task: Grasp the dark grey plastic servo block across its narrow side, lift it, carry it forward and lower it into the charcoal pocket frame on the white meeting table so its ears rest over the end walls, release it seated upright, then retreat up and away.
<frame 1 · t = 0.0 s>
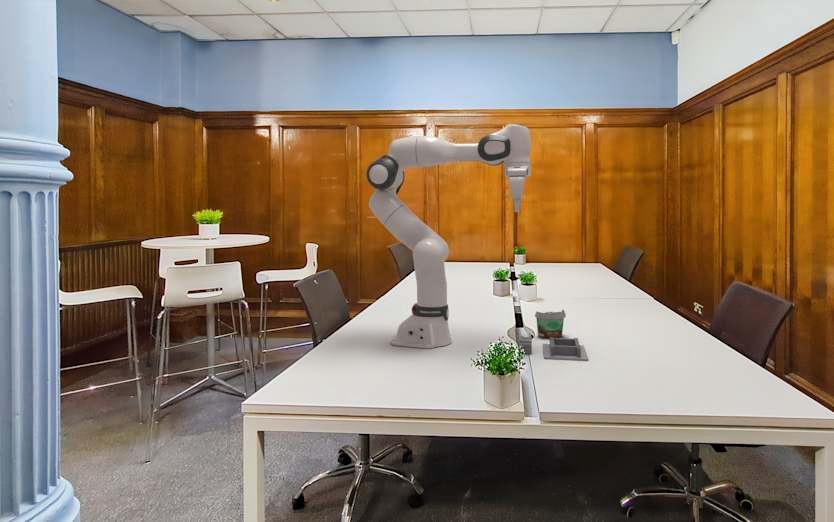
hand: (517, 211, 182), 48 cm above the table, fingers open, 8 cm apart
servo: (525, 351, 181), on the table
pocket: (564, 352, 178), on the table
food container: (553, 338, 198), on the table
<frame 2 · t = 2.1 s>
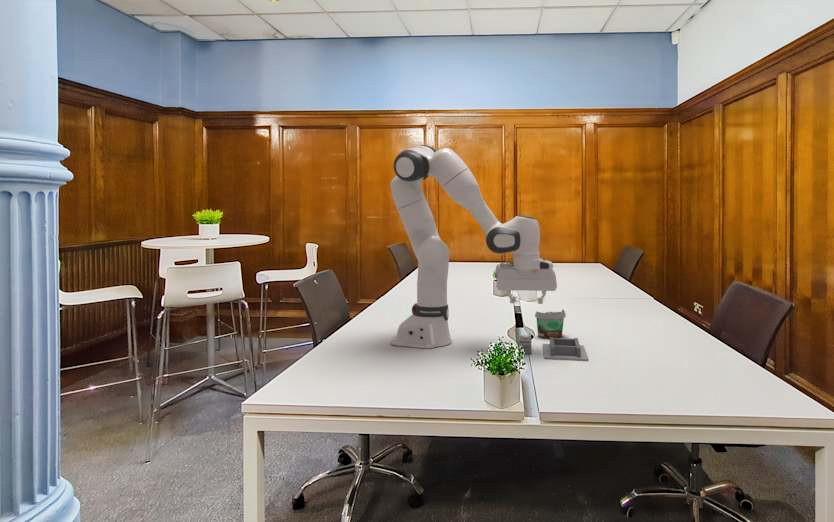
hand: (526, 303, 179), 17 cm above the table, fingers open, 8 cm apart
nothing on the table moved.
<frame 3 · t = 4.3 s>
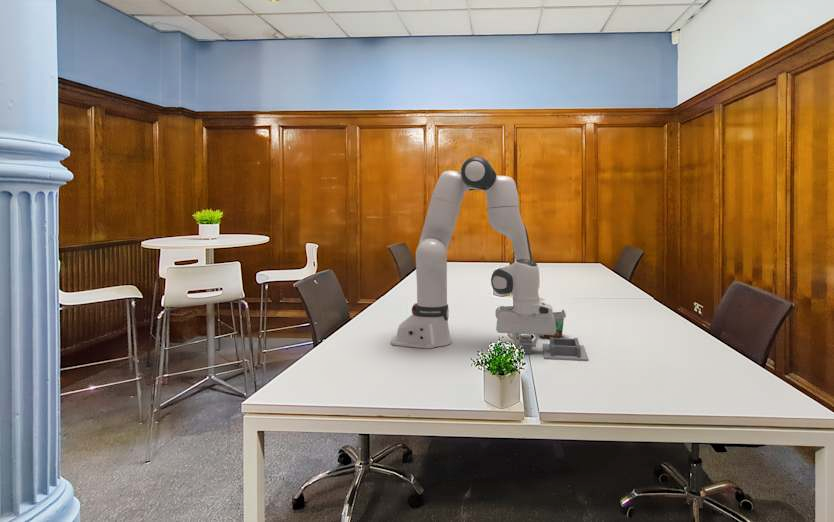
hand: (525, 346, 180), 2 cm above the table, fingers closed on servo, 4 cm apart
servo: (525, 351, 180), on the table, touching gripper
everything else where it was.
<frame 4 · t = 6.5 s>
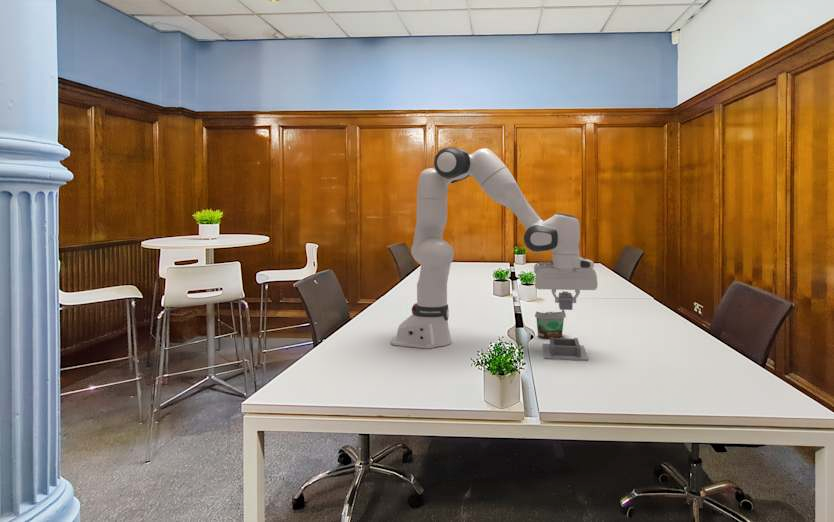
hand: (565, 302, 176), 17 cm above the table, fingers closed on servo, 4 cm apart
servo: (565, 307, 176), point 16 cm above the table, touching gripper
everything else where it was.
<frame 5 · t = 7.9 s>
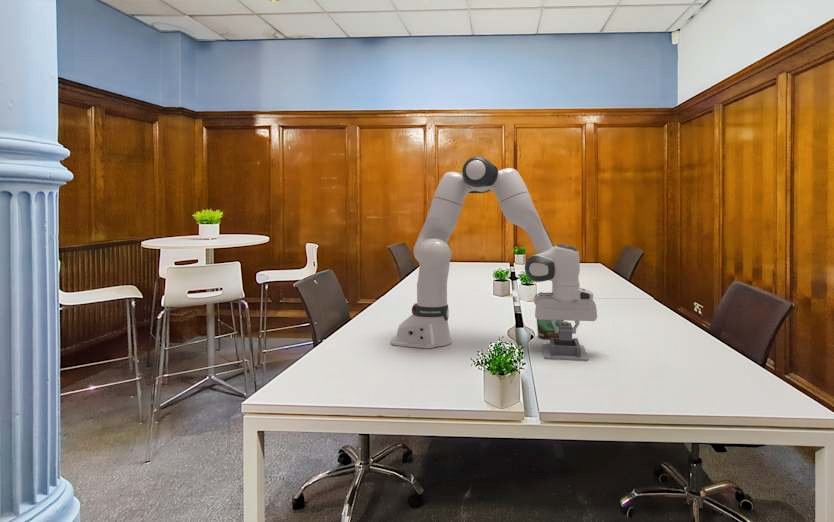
hand: (565, 332, 177), 7 cm above the table, fingers closed on servo, 4 cm apart
servo: (565, 337, 177), point 5 cm above the table, touching gripper
everything else where it was.
when the fingers open (4 cm above the table, at t = 8.7 s): servo drops 2 cm, resting on pocket.
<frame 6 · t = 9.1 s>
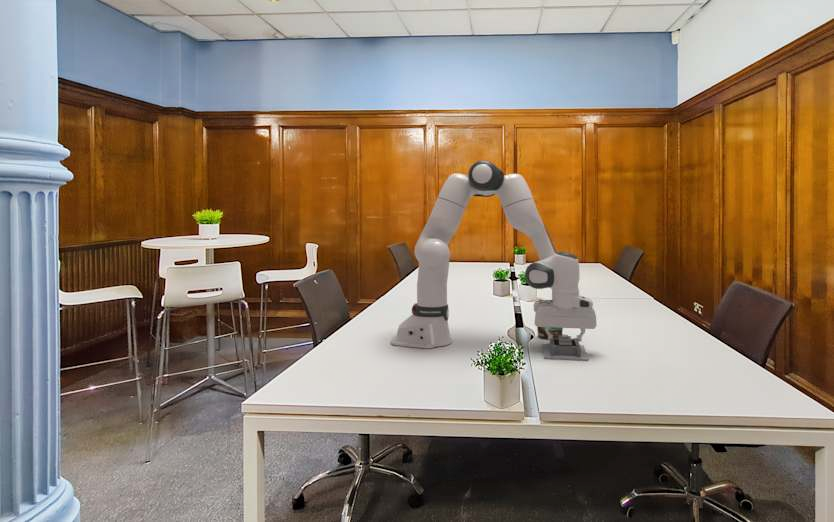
hand: (564, 340, 177), 4 cm above the table, fingers open, 8 cm apart
servo: (564, 351, 178), point 1 cm above the table, touching pocket
everything else where it was.
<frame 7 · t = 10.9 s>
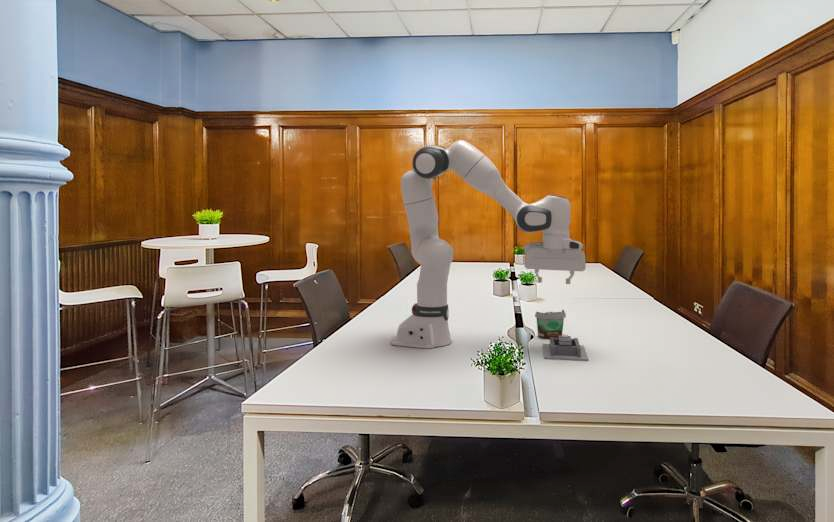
hand: (553, 283, 179), 24 cm above the table, fingers open, 8 cm apart
nothing on the table moved.
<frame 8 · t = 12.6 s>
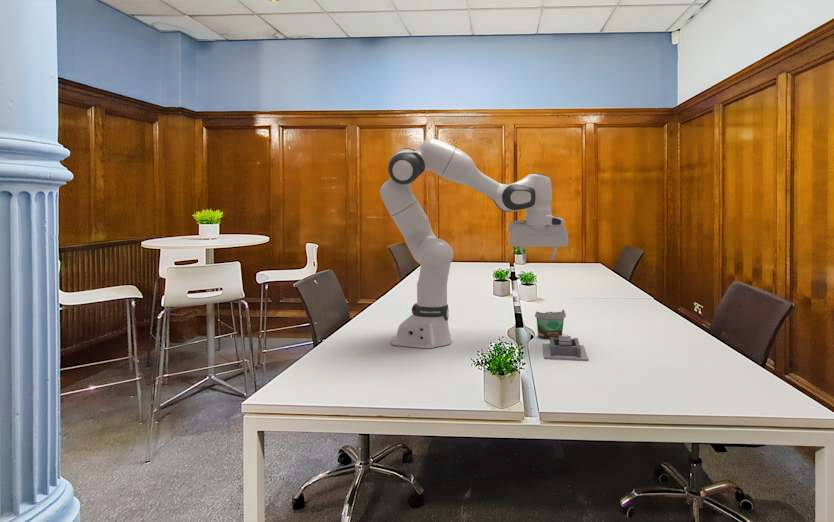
hand: (538, 259, 184), 31 cm above the table, fingers open, 8 cm apart
nothing on the table moved.
at the end: servo 0.1 cm off-centre on the pocket, point 0.6 cm above the pocket's base; servo tilted 0°; the gripper is holding nothing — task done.
